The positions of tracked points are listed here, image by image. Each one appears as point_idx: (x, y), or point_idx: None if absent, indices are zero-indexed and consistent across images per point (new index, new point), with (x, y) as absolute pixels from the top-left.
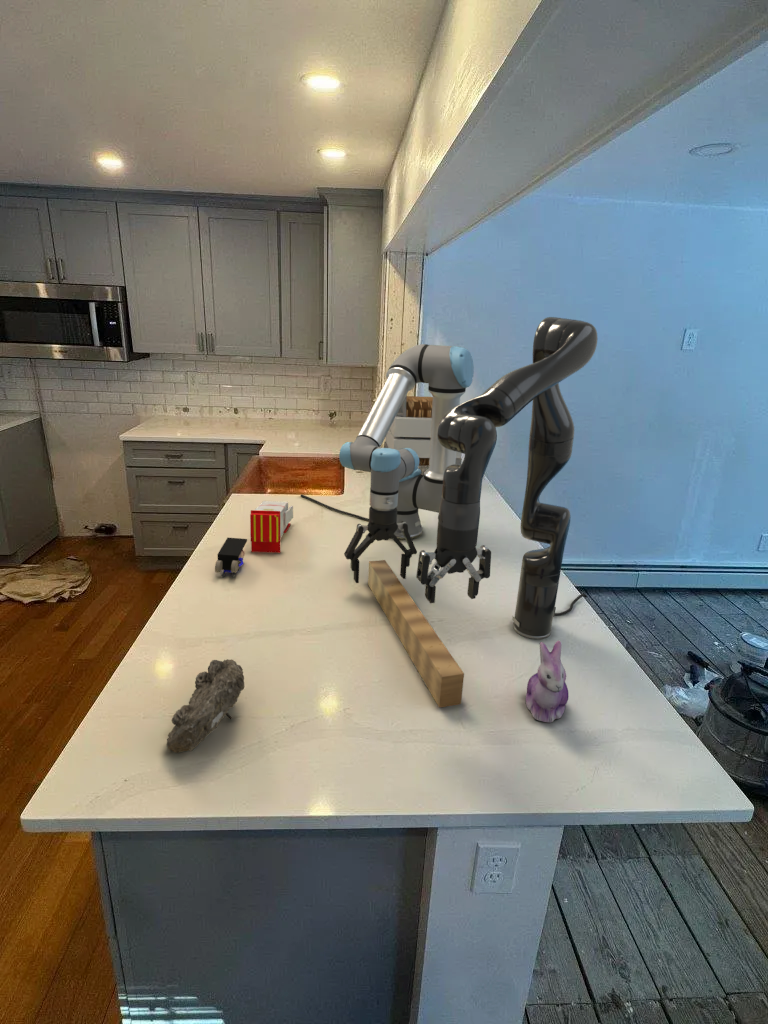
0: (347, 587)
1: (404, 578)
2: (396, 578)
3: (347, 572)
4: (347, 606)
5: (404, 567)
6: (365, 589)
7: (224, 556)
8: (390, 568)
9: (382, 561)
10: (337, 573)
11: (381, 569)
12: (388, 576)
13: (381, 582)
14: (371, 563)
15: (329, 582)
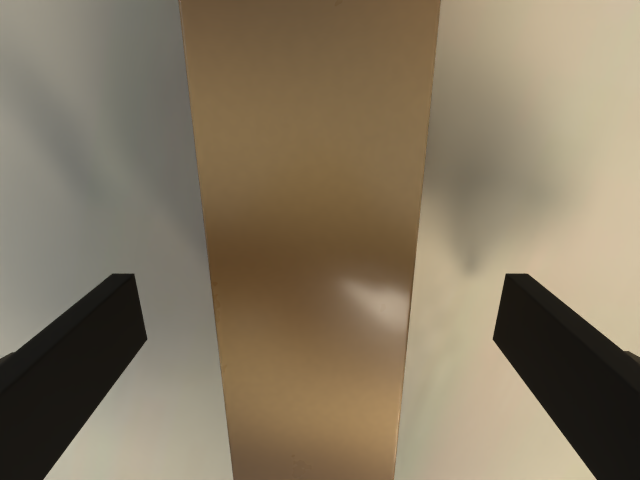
0: (488, 333)
1: (120, 276)
2: (203, 44)
3: (424, 471)
4: (593, 104)
5: (59, 335)
6: None
7: None
8: (221, 328)
9: (267, 470)
10: (477, 470)
11: (328, 324)
12: (299, 131)
13: (435, 2)
14: (384, 453)
15: None
